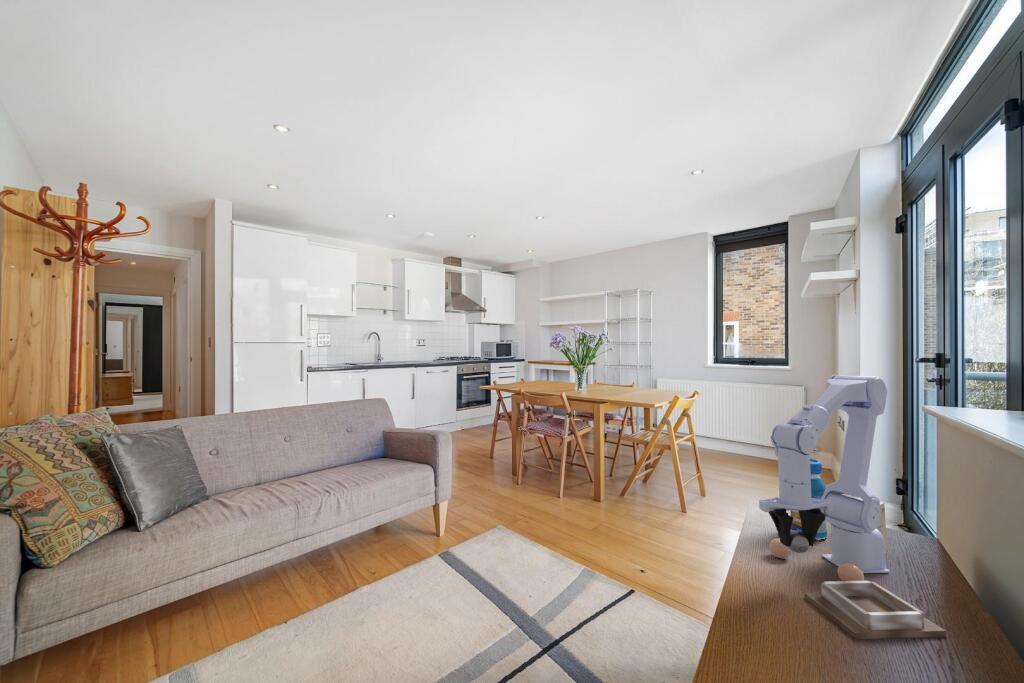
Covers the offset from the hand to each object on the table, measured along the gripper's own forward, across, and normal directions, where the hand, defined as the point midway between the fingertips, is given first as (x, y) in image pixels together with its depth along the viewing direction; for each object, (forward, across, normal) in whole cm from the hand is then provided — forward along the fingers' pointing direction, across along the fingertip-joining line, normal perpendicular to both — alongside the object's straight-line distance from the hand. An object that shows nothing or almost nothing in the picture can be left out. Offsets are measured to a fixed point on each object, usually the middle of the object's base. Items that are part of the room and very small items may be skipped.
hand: (796, 544), depth 88 cm
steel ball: (-1, 0, 0) cm, 1 cm away
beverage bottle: (+9, -20, -23) cm, 32 cm away
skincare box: (+9, -28, -13) cm, 32 cm away
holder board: (+8, -6, +11) cm, 15 cm away
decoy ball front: (+6, -4, -11) cm, 13 cm away
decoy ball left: (+6, -11, +1) cm, 13 cm away
